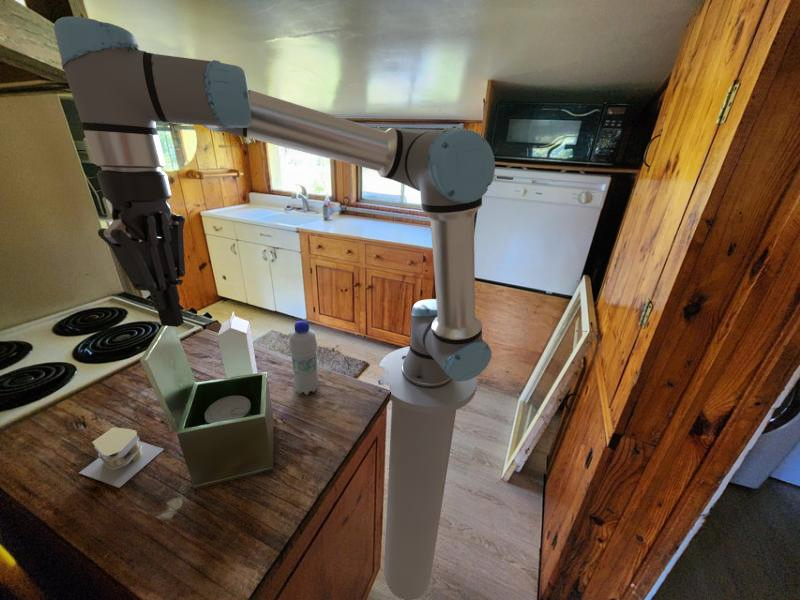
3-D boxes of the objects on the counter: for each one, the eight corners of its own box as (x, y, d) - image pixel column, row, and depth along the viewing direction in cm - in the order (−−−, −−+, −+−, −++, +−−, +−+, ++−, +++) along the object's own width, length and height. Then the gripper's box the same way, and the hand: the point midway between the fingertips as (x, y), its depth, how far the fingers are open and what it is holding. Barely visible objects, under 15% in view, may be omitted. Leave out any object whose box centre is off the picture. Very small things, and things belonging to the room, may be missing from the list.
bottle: (306, 377, 90) (301, 313, 82) (325, 386, 87) (321, 320, 79) (287, 391, 84) (280, 323, 76) (306, 401, 81) (300, 331, 73)
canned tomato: (206, 465, 63) (194, 422, 58) (229, 433, 70) (220, 393, 66) (245, 470, 62) (236, 427, 58) (264, 437, 70) (258, 397, 65)
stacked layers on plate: (78, 473, 61) (67, 452, 59) (126, 437, 69) (118, 417, 67) (119, 488, 59) (109, 466, 57) (164, 449, 67) (157, 429, 64)
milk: (231, 402, 80) (213, 323, 71) (235, 386, 85) (219, 311, 76) (257, 398, 82) (243, 321, 73) (259, 382, 87) (247, 309, 78)
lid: (171, 317, 59) (166, 318, 59) (145, 359, 47) (139, 360, 47) (195, 380, 65) (191, 381, 65) (178, 430, 53) (173, 432, 53)
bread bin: (273, 420, 75) (266, 371, 70) (273, 470, 64) (264, 416, 58) (207, 433, 71) (194, 382, 65) (194, 489, 59) (176, 433, 54)
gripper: (144, 166, 50) (179, 305, 59) (54, 168, 38) (116, 342, 47) (191, 169, 49) (218, 309, 59) (115, 172, 37) (165, 347, 47)
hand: (172, 323), depth 53 cm, fingers closed
